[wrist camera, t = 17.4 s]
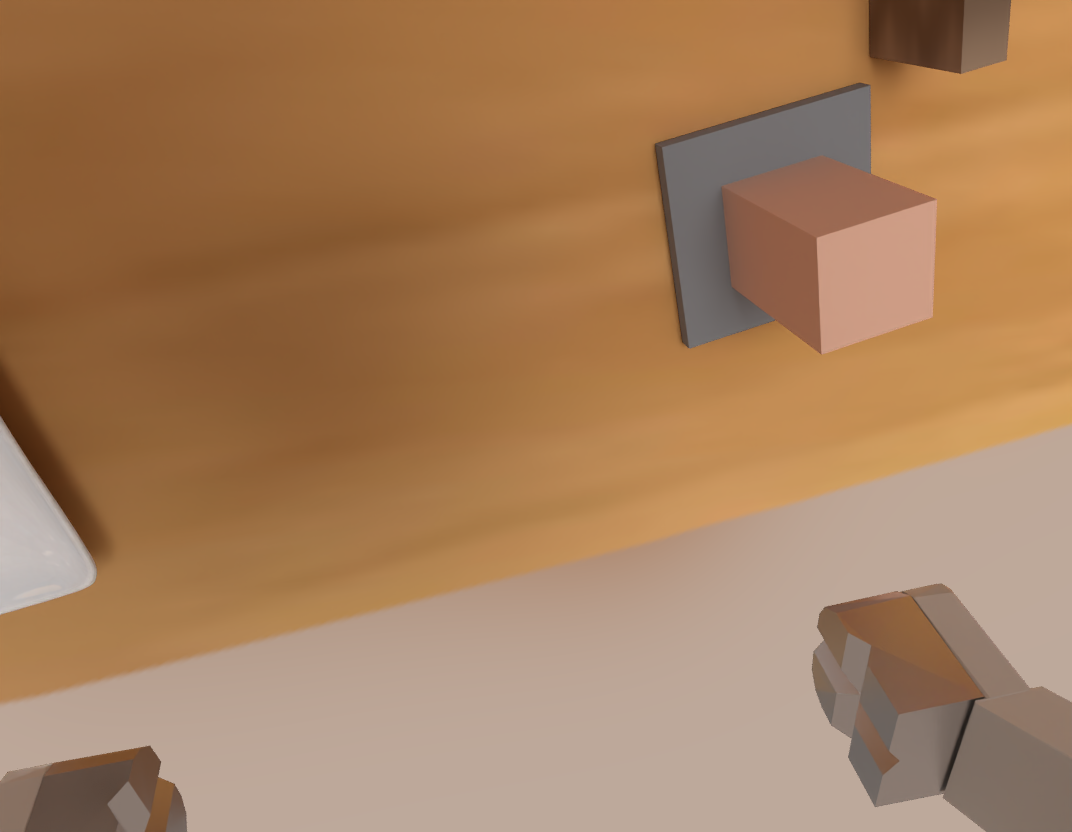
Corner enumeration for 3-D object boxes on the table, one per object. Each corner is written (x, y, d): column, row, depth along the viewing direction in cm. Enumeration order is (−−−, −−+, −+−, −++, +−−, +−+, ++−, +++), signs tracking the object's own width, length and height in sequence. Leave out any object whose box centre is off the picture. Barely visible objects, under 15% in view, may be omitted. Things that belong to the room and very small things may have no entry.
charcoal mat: (655, 143, 37) (662, 147, 37) (859, 82, 38) (870, 85, 38) (682, 342, 42) (689, 348, 42) (862, 283, 44) (871, 288, 43)
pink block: (721, 185, 38) (816, 237, 31) (825, 153, 39) (941, 197, 32) (731, 286, 41) (821, 354, 34) (829, 255, 41) (936, 315, 35)
